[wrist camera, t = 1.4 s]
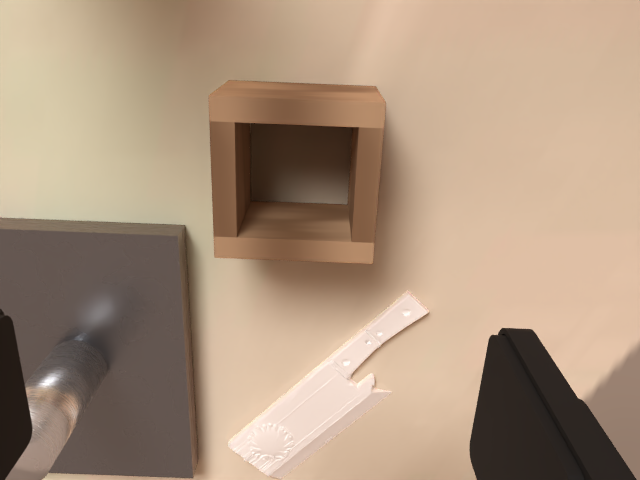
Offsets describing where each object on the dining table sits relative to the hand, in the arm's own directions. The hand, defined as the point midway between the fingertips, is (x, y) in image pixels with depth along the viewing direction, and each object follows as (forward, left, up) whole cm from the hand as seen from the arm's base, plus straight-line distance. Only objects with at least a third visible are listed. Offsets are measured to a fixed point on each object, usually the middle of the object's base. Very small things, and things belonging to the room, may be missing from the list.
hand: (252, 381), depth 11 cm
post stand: (+12, +12, -18) cm, 25 cm away
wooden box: (0, 0, -19) cm, 18 cm away
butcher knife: (-3, +15, -19) cm, 24 cm away
